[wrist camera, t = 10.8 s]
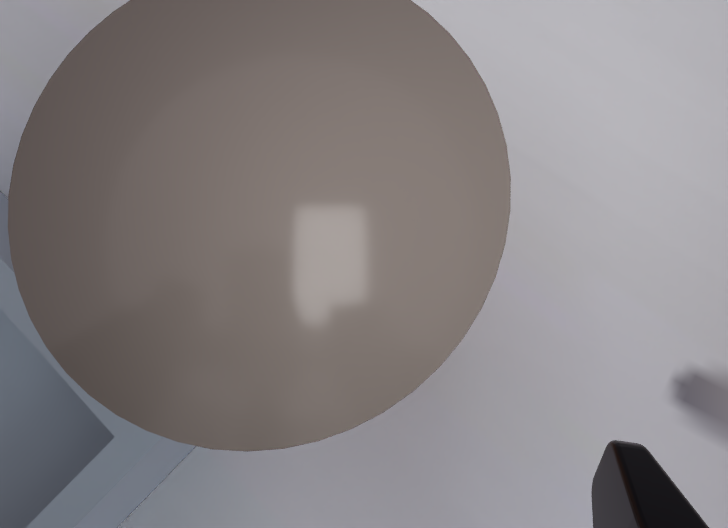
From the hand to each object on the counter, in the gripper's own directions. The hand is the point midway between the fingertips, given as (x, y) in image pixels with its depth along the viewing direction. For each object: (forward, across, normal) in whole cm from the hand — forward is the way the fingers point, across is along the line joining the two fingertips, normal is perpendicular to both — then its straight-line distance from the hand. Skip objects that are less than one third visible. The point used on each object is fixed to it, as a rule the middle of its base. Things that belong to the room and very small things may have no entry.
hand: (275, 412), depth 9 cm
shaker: (+8, 0, +5) cm, 10 cm away
